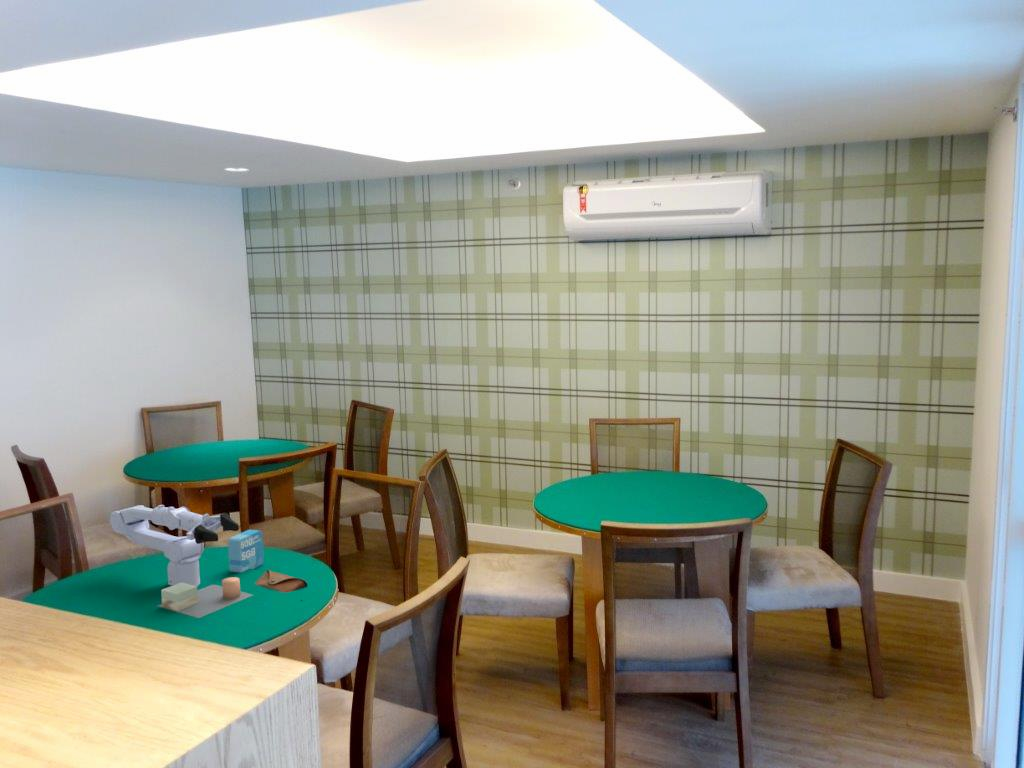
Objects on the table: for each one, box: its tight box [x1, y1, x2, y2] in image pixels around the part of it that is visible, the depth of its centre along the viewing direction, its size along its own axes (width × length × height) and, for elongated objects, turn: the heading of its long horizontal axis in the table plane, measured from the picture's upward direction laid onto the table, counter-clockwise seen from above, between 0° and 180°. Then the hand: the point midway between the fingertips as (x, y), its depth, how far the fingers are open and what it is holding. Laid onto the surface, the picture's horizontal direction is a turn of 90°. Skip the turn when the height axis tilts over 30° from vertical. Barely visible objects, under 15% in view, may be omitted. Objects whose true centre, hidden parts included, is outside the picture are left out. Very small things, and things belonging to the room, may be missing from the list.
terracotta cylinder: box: [221, 576, 241, 599], centre depth 254 cm, size 5×5×5 cm
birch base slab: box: [161, 595, 198, 612], centre depth 248 cm, size 7×7×2 cm
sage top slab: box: [160, 582, 198, 603], centre depth 248 cm, size 7×7×2 cm
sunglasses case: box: [254, 569, 308, 594], centre depth 264 cm, size 18×7×7 cm, turn 57°
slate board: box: [158, 584, 254, 619], centre depth 252 cm, size 18×20×1 cm
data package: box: [227, 529, 265, 573], centre depth 280 cm, size 12×4×12 cm, turn 159°
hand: (227, 532), depth 252 cm, fingers open, 7 cm apart
